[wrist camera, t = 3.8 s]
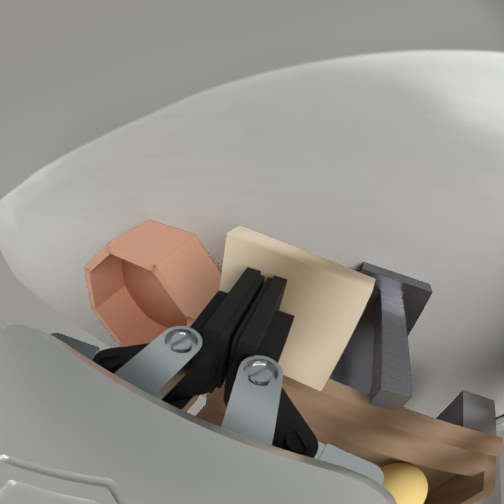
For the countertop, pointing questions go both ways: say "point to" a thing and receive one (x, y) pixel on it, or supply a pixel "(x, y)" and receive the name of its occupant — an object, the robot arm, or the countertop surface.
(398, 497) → the ball
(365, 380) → the stand
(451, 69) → the countertop surface
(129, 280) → the salmon orange faceted bowl
